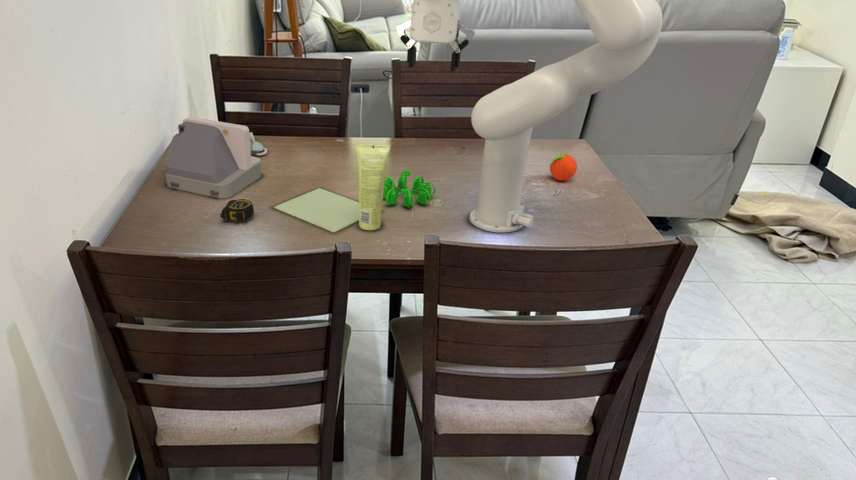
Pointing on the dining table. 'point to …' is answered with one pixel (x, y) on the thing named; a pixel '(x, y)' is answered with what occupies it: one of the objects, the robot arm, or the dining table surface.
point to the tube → (371, 183)
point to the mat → (323, 209)
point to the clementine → (563, 167)
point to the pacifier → (256, 146)
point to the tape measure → (237, 210)
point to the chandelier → (407, 190)
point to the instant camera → (211, 158)
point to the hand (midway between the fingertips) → (432, 68)
